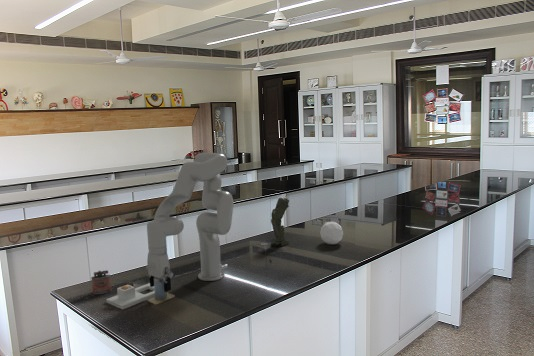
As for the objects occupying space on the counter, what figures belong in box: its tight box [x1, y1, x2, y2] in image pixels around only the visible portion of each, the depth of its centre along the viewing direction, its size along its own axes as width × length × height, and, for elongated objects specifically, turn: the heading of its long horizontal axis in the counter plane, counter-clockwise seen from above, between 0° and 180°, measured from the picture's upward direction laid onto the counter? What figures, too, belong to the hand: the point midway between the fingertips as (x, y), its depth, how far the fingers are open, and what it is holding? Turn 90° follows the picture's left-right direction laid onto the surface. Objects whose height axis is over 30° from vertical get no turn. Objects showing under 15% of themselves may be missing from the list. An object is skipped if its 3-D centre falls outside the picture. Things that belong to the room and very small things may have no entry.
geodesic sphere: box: [319, 220, 344, 245], centre depth 264 cm, size 14×14×14 cm
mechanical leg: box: [270, 197, 290, 248], centre depth 264 cm, size 13×7×29 cm, turn 130°
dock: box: [106, 282, 155, 310], centre depth 196 cm, size 22×12×6 cm, turn 140°
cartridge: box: [154, 277, 168, 300], centre depth 193 cm, size 5×5×9 cm
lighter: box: [90, 269, 113, 295], centre depth 202 cm, size 8×3×10 cm, turn 106°
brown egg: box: [121, 284, 129, 290], centre depth 192 cm, size 3×3×4 cm
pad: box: [146, 292, 176, 306], centre depth 193 cm, size 10×6×1 cm, turn 140°
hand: (160, 288), depth 193 cm, fingers open, 9 cm apart
